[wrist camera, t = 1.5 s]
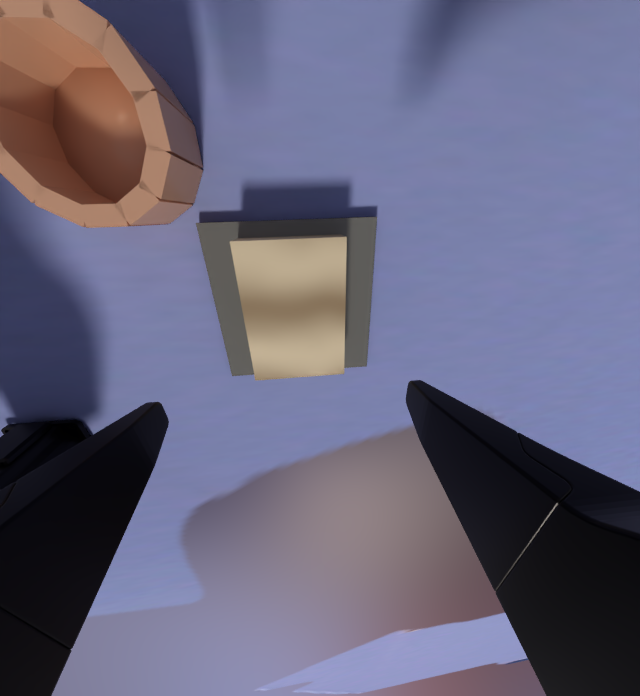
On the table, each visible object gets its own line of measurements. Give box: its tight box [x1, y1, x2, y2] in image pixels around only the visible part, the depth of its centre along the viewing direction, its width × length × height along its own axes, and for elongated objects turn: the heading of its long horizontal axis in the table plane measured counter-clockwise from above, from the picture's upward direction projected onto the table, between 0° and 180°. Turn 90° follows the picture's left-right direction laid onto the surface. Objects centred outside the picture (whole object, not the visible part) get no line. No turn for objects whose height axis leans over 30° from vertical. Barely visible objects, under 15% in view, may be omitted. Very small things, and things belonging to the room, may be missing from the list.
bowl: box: [0, 0, 203, 228], centre depth 13 cm, size 8×8×4 cm
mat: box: [196, 217, 377, 376], centre depth 20 cm, size 12×12×1 cm
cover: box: [230, 234, 347, 380], centre depth 18 cm, size 10×7×2 cm
